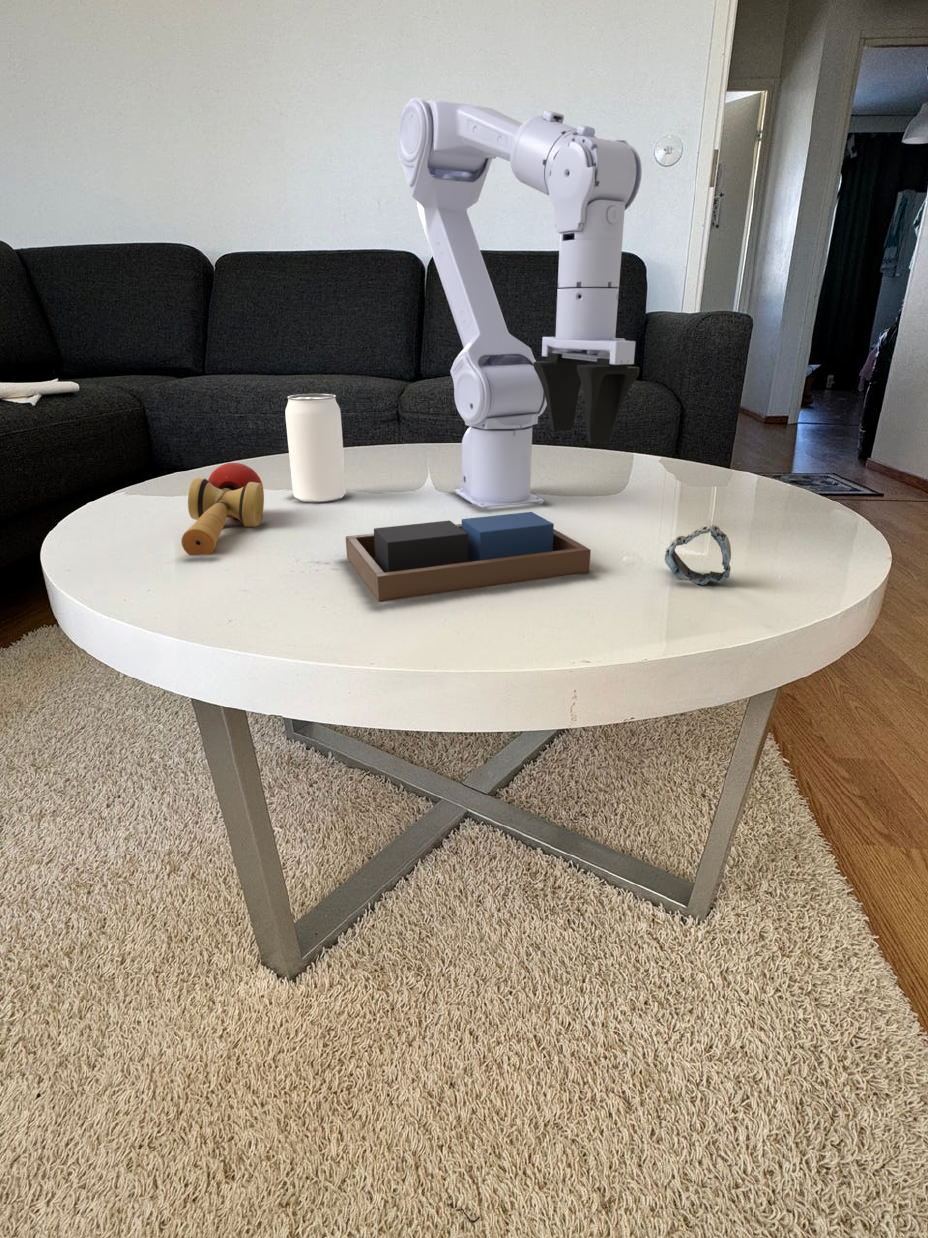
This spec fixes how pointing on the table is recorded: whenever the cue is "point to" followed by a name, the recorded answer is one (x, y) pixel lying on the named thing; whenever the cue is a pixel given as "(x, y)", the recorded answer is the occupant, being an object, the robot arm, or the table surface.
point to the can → (315, 447)
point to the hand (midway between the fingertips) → (579, 435)
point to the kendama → (222, 505)
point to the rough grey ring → (686, 574)
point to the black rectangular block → (420, 546)
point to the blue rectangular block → (507, 536)
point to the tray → (465, 569)
